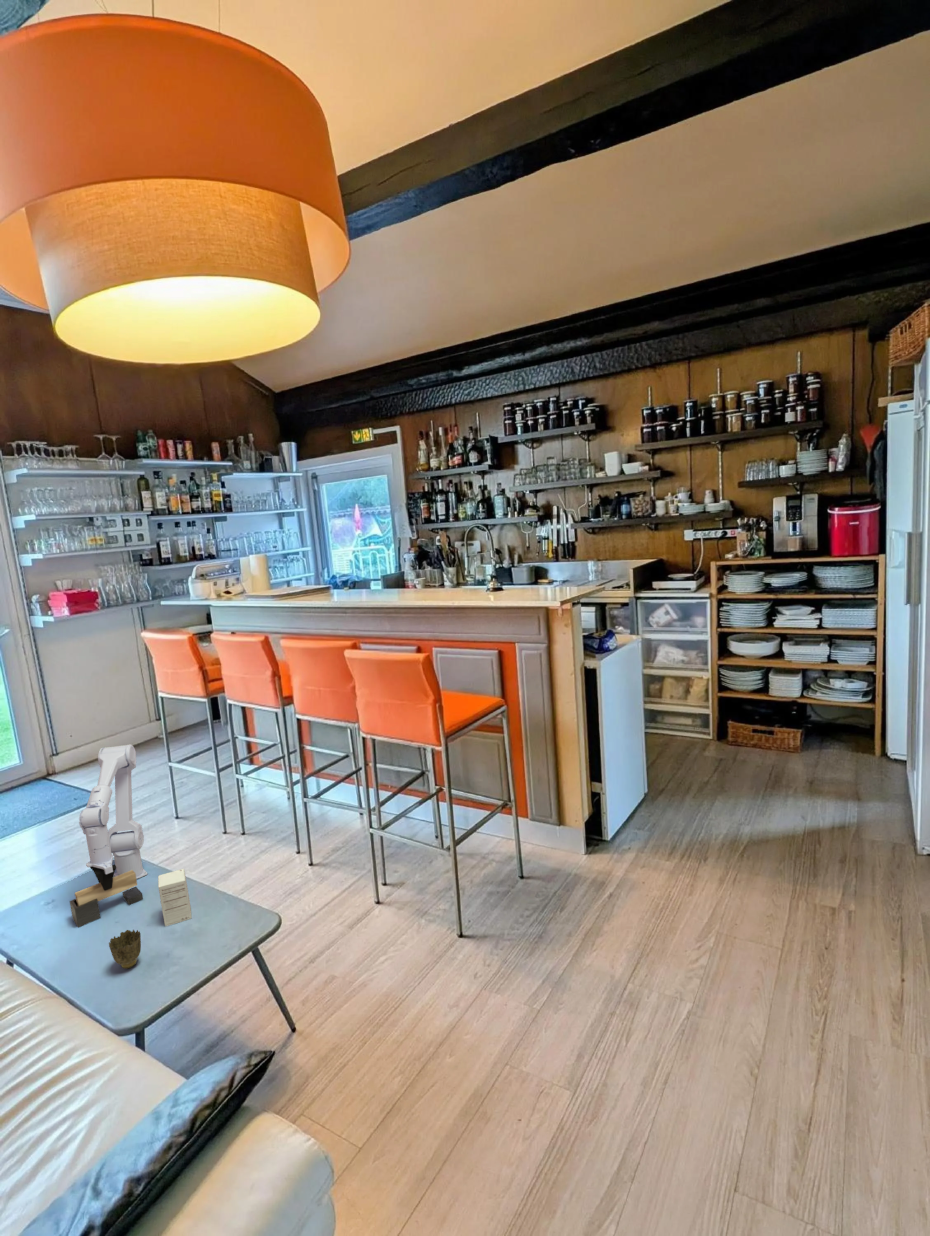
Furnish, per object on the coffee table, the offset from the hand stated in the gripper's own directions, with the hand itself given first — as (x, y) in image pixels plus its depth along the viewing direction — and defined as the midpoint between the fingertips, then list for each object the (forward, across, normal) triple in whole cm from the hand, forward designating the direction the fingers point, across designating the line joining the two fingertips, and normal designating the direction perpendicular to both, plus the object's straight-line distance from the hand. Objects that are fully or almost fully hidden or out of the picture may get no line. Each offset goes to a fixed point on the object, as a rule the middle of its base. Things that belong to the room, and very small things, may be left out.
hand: (106, 887), depth 195 cm
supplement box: (+8, +21, +13) cm, 26 cm away
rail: (+3, 0, 0) cm, 3 cm away
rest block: (+7, 0, +7) cm, 10 cm away
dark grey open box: (+7, 0, -6) cm, 10 cm away
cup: (+8, +33, -4) cm, 34 cm away
